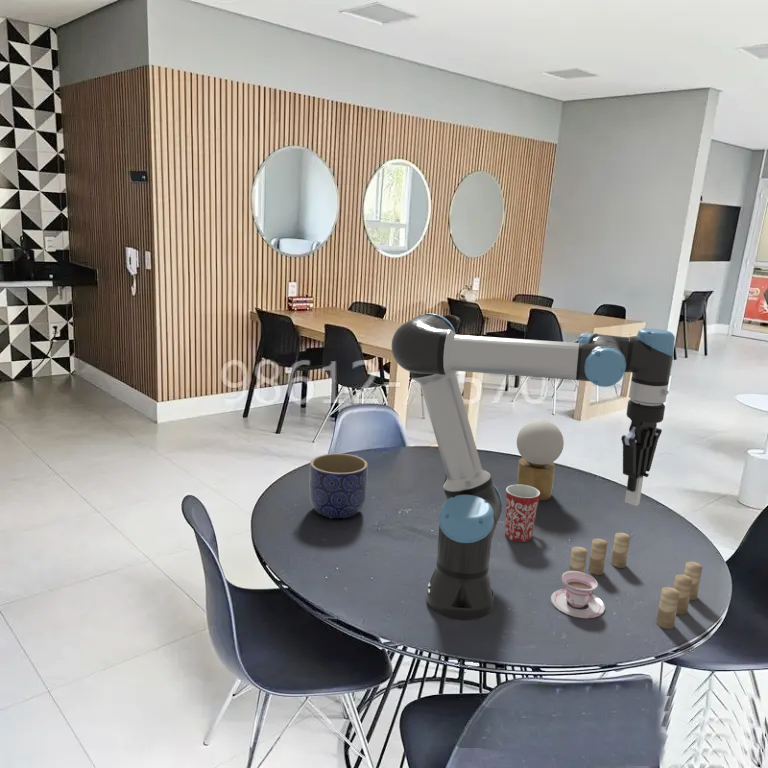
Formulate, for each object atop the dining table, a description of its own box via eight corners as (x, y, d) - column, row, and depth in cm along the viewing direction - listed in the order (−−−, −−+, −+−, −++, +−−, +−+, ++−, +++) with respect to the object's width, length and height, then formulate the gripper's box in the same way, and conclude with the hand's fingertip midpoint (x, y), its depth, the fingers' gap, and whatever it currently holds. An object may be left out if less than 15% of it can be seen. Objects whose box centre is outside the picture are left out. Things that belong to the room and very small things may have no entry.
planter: (374, 520, 195) (376, 470, 192) (317, 527, 189) (319, 476, 186) (354, 497, 210) (356, 451, 207) (301, 503, 204) (303, 455, 201)
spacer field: (668, 631, 149) (674, 597, 147) (565, 579, 168) (568, 549, 166) (710, 601, 162) (715, 570, 160) (609, 556, 181) (613, 528, 179)
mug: (522, 547, 184) (527, 500, 180) (495, 535, 190) (499, 489, 187) (548, 533, 192) (553, 488, 189) (521, 522, 199) (526, 478, 195)
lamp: (558, 508, 210) (568, 429, 204) (511, 503, 212) (519, 425, 206) (554, 489, 224) (563, 415, 218) (510, 484, 226) (518, 411, 220)
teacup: (540, 593, 162) (543, 569, 160) (585, 588, 165) (588, 564, 164) (568, 622, 151) (571, 597, 149) (615, 616, 154) (619, 591, 153)
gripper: (647, 410, 141) (631, 516, 147) (678, 401, 150) (662, 502, 155) (614, 401, 147) (600, 504, 153) (646, 393, 155) (632, 491, 161)
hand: (631, 503), depth 154 cm, fingers closed
